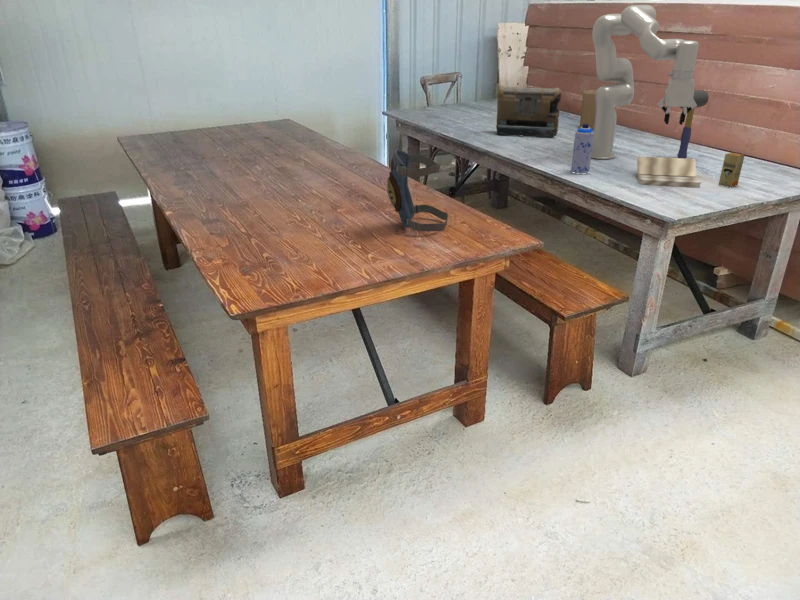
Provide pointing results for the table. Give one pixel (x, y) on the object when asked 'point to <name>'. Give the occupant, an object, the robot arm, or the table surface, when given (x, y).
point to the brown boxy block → (528, 111)
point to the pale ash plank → (666, 166)
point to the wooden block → (588, 109)
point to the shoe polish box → (731, 169)
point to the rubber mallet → (700, 100)
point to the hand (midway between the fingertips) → (673, 123)
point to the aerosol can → (582, 149)
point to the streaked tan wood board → (669, 180)
